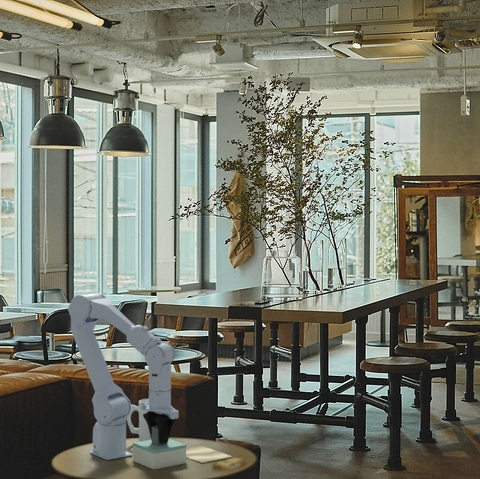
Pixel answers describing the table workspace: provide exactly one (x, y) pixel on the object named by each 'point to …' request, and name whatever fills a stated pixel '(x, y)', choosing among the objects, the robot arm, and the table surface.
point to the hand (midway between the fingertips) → (159, 441)
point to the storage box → (159, 458)
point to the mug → (140, 422)
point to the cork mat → (205, 454)
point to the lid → (158, 443)
